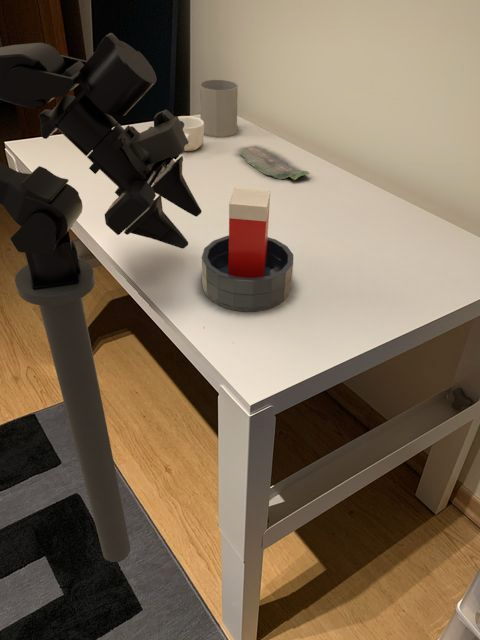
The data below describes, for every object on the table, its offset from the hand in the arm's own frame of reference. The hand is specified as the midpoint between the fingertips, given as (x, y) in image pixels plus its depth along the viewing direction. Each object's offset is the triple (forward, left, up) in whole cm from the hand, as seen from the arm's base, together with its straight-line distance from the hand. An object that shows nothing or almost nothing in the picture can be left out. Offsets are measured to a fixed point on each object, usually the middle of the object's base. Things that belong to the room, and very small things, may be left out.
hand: (193, 229), depth 75 cm
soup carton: (+7, -3, -8) cm, 11 cm away
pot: (+7, -3, -8) cm, 11 cm away
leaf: (+26, +39, -8) cm, 47 cm away
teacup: (+11, +51, -8) cm, 53 cm away
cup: (+21, +61, -8) cm, 65 cm away
